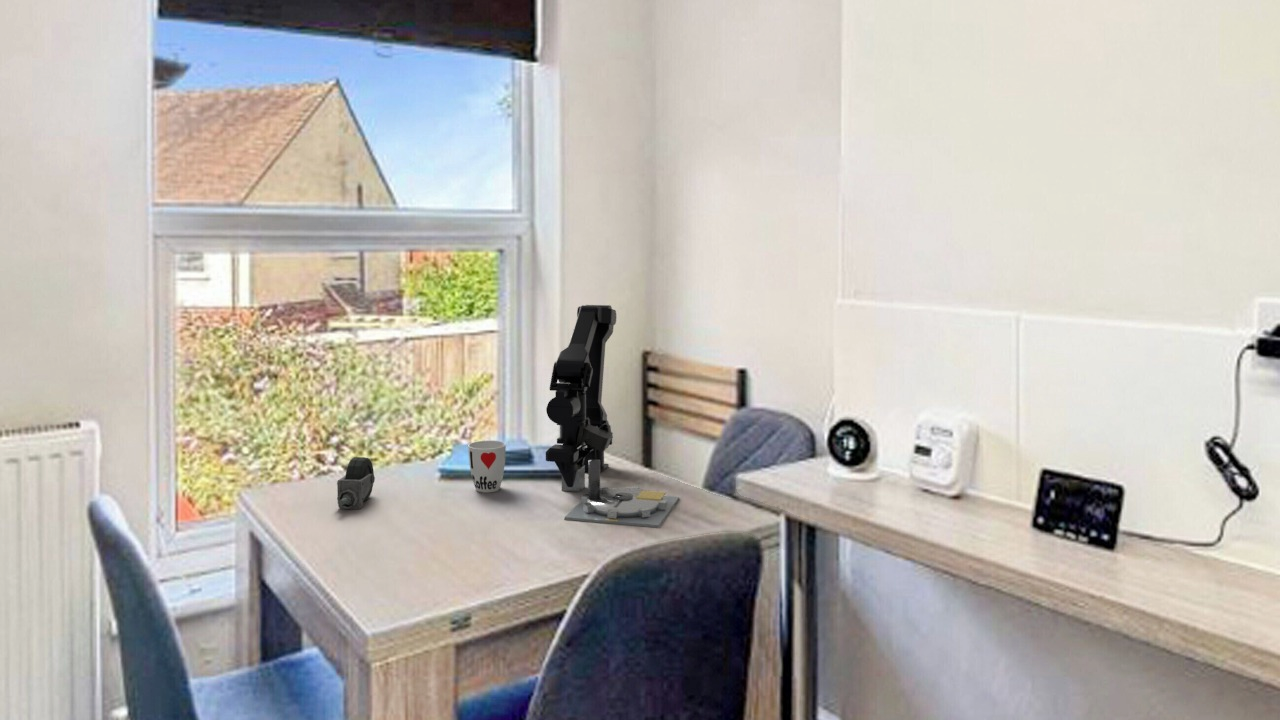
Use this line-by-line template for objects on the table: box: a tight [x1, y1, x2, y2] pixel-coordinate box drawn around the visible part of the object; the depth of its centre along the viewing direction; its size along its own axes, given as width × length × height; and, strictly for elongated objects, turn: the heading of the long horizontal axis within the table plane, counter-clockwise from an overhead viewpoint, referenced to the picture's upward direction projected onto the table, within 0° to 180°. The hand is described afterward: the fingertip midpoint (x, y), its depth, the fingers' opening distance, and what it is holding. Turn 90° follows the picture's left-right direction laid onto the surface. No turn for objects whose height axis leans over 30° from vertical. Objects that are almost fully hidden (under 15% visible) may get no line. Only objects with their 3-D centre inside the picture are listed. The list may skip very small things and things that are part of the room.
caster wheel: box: [336, 456, 376, 510], centre depth 187 cm, size 6×10×15 cm
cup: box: [467, 440, 507, 493], centre depth 197 cm, size 8×8×10 cm
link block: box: [561, 464, 586, 493], centre depth 198 cm, size 4×4×5 cm
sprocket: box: [580, 459, 667, 519], centre depth 184 cm, size 18×18×10 cm
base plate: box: [564, 495, 680, 529], centre depth 184 cm, size 19×19×1 cm
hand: (573, 484), depth 198 cm, fingers closed on link block, 4 cm apart
